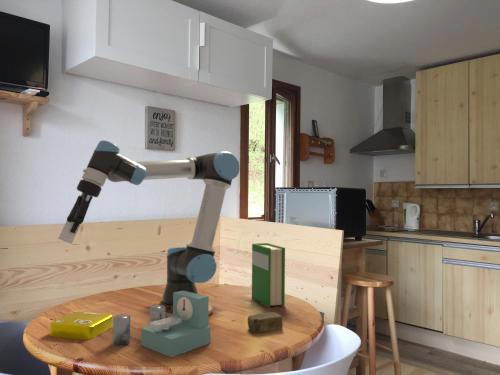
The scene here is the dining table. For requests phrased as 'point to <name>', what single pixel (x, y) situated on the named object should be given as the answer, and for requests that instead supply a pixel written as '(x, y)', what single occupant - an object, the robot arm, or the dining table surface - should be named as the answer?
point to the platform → (165, 323)
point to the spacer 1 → (121, 330)
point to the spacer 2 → (157, 312)
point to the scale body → (181, 326)
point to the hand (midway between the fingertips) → (64, 241)
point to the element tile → (81, 325)
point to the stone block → (265, 322)
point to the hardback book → (268, 274)
